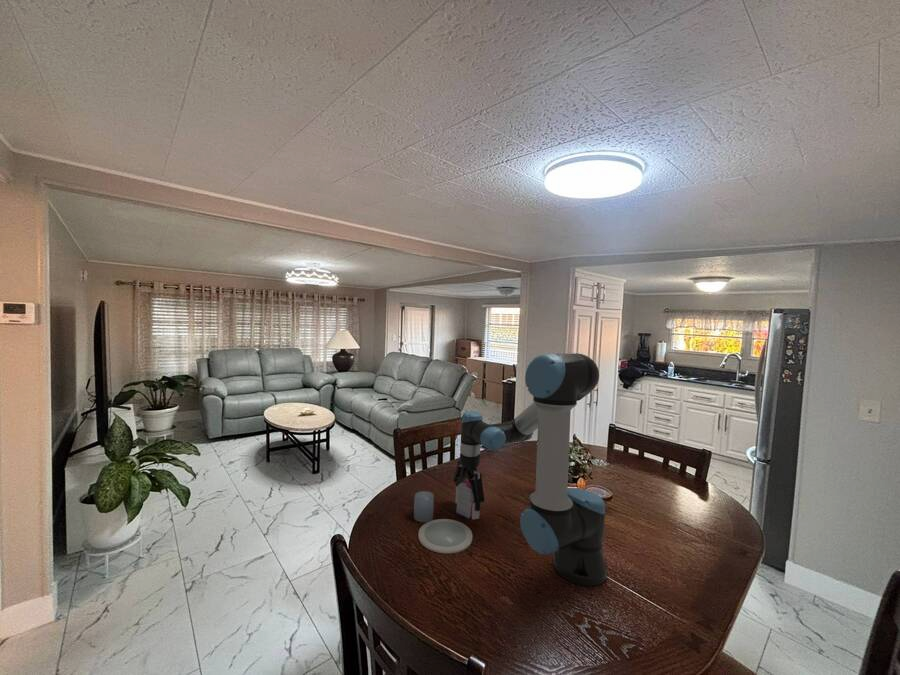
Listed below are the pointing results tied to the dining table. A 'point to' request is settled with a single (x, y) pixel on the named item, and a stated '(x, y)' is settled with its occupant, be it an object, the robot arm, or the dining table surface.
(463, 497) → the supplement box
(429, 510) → the cylinder block
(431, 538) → the dish
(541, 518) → the robot arm
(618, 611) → the dining table surface
